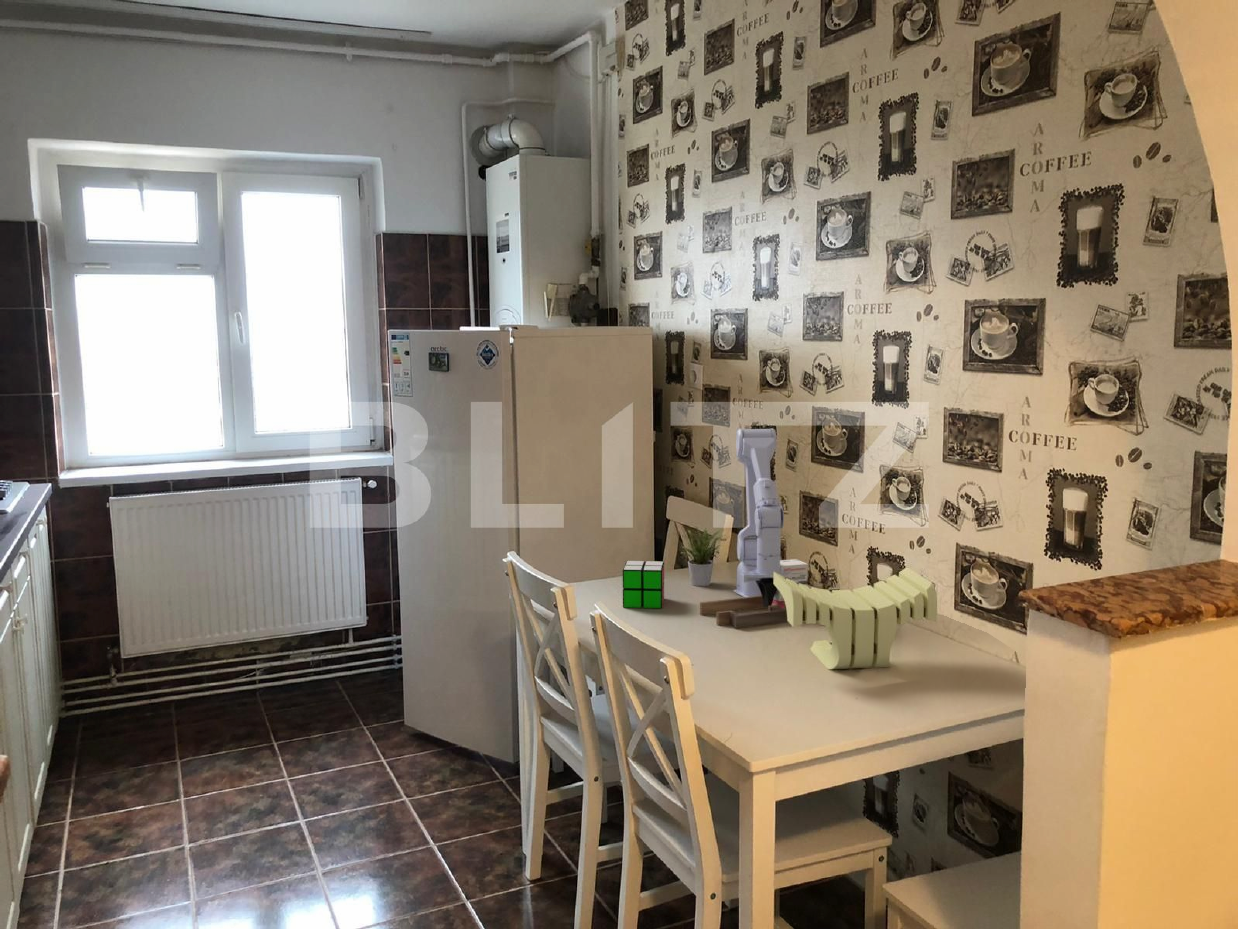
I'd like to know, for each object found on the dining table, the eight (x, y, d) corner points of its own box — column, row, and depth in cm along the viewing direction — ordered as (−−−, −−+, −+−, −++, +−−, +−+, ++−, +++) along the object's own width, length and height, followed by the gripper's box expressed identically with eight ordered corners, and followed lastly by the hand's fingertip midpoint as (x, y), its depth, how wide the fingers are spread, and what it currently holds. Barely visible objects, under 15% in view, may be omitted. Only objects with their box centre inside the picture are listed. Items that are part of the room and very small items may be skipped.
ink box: (778, 612, 244) (780, 565, 243) (766, 607, 248) (769, 561, 247) (806, 609, 248) (809, 562, 246) (794, 604, 252) (797, 558, 251)
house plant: (739, 581, 274) (740, 524, 272) (717, 593, 263) (718, 533, 260) (694, 575, 282) (694, 519, 279) (670, 586, 270) (670, 527, 268)
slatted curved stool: (792, 676, 200) (793, 590, 198) (772, 650, 216) (773, 571, 214) (934, 670, 203) (937, 586, 201) (904, 645, 219) (907, 567, 217)
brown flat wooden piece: (700, 614, 244) (700, 602, 243) (808, 601, 255) (808, 589, 254) (726, 630, 231) (726, 617, 230) (839, 615, 242) (839, 603, 241)
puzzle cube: (664, 598, 258) (664, 561, 257) (662, 609, 248) (662, 570, 247) (626, 597, 259) (626, 560, 258) (622, 608, 249) (622, 569, 248)
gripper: (750, 560, 236) (749, 615, 238) (802, 554, 241) (801, 608, 243) (736, 553, 243) (735, 607, 245) (788, 549, 248) (787, 601, 250)
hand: (767, 607), depth 244 cm, fingers closed
